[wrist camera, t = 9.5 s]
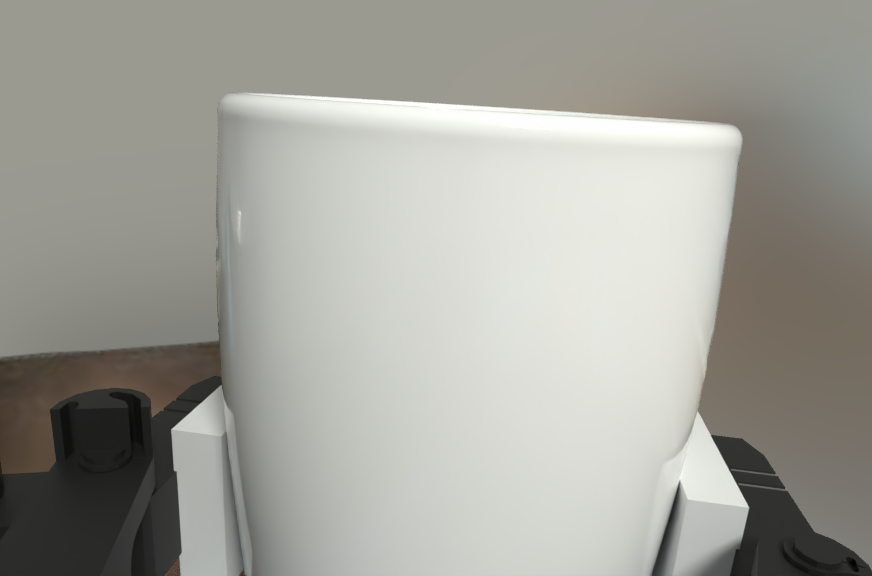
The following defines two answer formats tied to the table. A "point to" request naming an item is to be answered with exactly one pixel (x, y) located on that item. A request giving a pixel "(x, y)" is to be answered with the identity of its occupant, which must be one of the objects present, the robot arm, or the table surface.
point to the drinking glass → (462, 331)
